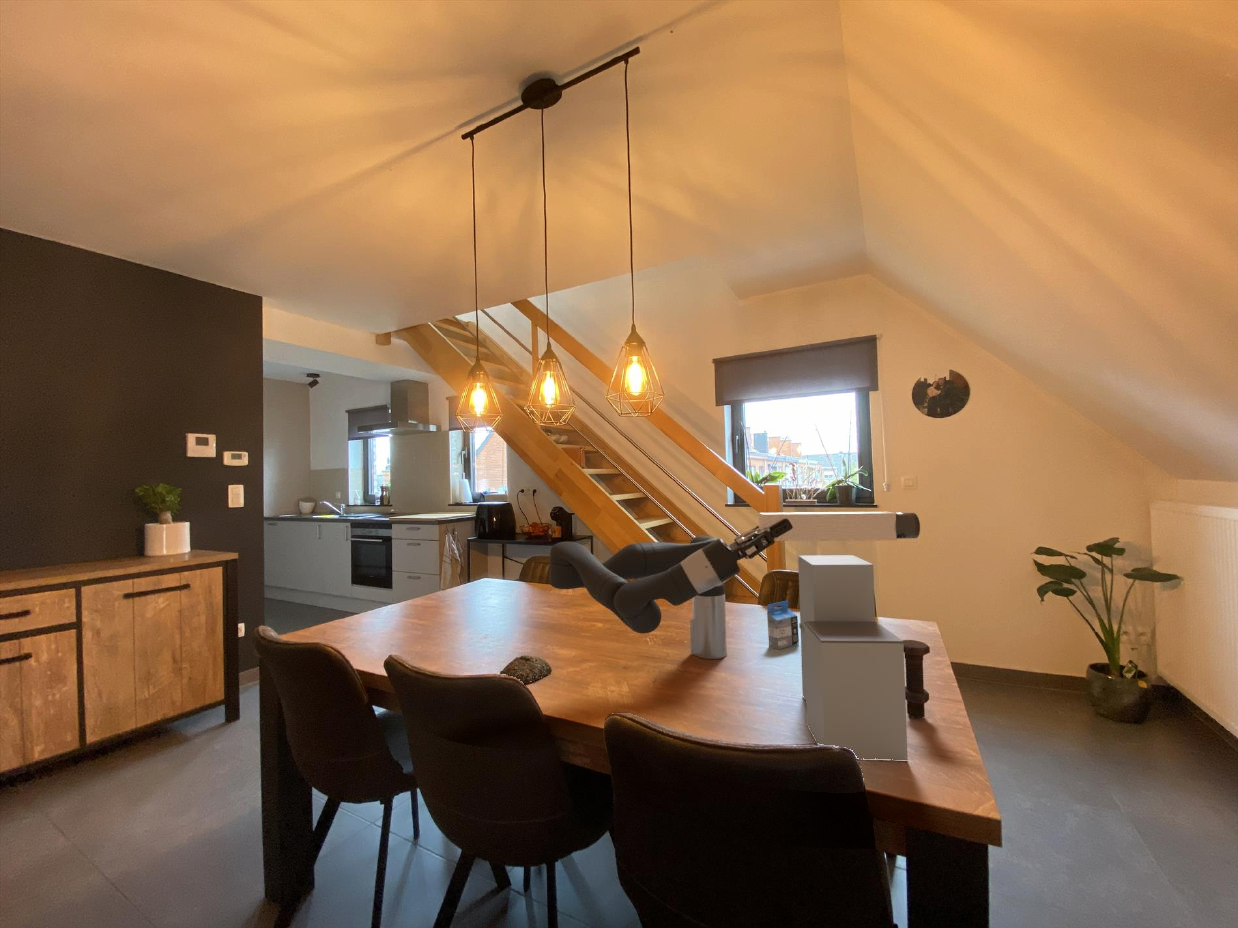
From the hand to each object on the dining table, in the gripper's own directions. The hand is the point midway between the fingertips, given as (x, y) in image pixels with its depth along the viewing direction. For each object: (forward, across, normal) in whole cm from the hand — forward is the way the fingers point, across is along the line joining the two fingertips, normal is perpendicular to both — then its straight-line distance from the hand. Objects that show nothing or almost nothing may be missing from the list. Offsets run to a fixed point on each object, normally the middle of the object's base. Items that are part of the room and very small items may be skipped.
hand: (787, 521), depth 98 cm
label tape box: (-12, +55, +41) cm, 70 cm away
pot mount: (-11, +7, +42) cm, 44 cm away
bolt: (+3, +11, +50) cm, 51 cm away
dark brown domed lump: (-75, +30, +6) cm, 81 cm away
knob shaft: (+6, 0, +8) cm, 10 cm away
